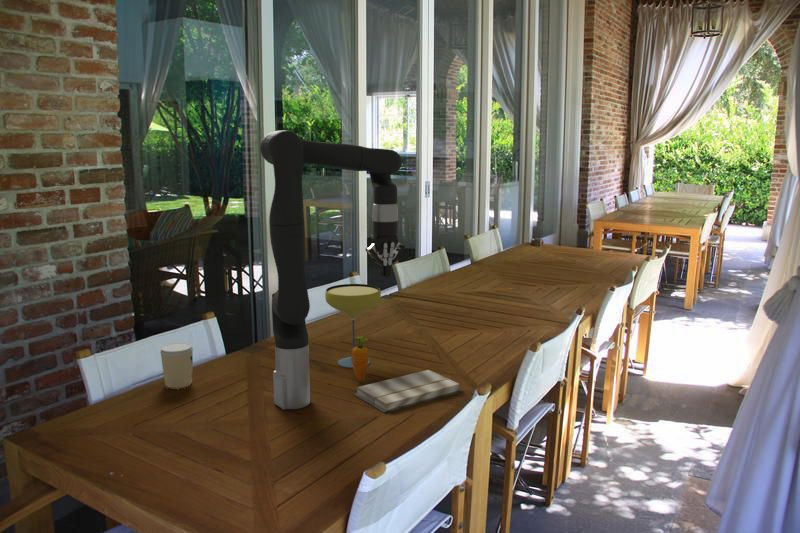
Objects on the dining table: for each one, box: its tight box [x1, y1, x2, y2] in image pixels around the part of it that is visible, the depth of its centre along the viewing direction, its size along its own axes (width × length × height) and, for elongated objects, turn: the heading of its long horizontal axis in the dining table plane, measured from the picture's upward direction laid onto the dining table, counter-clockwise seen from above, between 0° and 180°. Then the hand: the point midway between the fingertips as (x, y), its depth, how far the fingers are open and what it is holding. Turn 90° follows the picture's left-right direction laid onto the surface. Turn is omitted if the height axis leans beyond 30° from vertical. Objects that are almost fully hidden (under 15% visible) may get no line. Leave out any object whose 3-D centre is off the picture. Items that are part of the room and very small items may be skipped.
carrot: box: [351, 334, 369, 384], centre depth 202 cm, size 5×5×15 cm
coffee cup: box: [159, 342, 194, 388], centre depth 200 cm, size 9×9×12 cm
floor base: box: [353, 377, 464, 414], centre depth 195 cm, size 28×16×3 cm, turn 125°
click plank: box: [356, 369, 446, 403], centre depth 197 cm, size 26×9×2 cm, turn 125°
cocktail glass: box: [324, 283, 382, 369], centre depth 219 cm, size 18×18×25 cm
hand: (385, 277), depth 197 cm, fingers closed
